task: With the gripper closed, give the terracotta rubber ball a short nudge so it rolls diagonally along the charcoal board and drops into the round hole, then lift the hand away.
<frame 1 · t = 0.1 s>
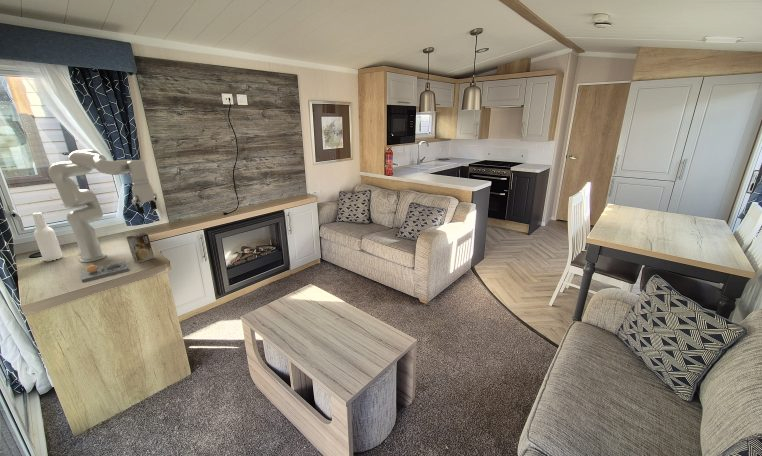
hand: (148, 211, 184), 31 cm above the table, fingers open, 9 cm apart
ball: (92, 268, 174), point 4 cm above the table, touching deck
alcohol: (53, 259, 198), on the table
deck: (105, 272, 179), on the table
coffee box: (144, 259, 195), on the table
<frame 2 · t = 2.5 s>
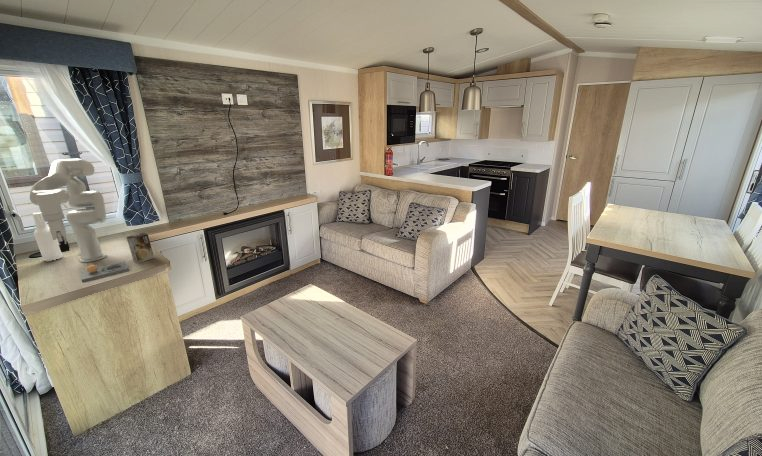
hand: (65, 249, 165), 17 cm above the table, fingers open, 4 cm apart
nothing on the table moved.
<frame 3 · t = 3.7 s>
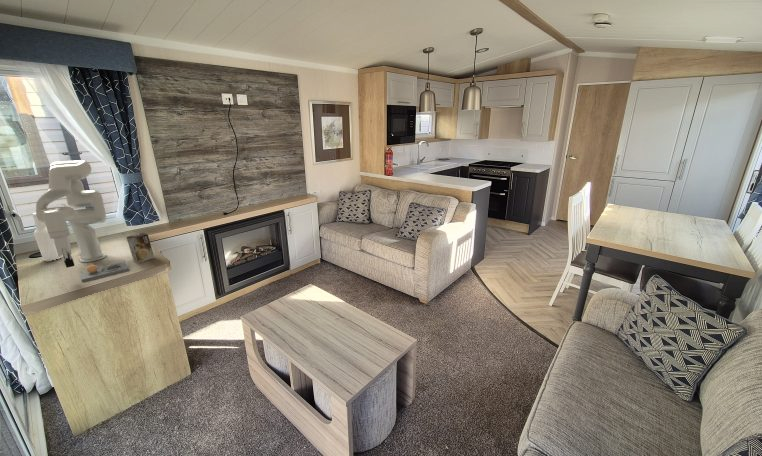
hand: (70, 266, 167), 8 cm above the table, fingers closed
nothing on the table moved.
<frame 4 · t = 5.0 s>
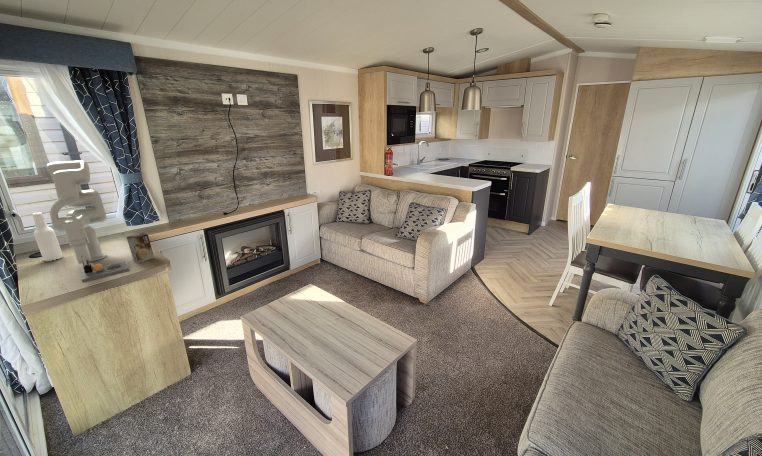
hand: (89, 272, 174), 2 cm above the table, fingers closed
ball: (97, 267, 176), point 4 cm above the table, tilted 55°, touching deck
everything else where it was.
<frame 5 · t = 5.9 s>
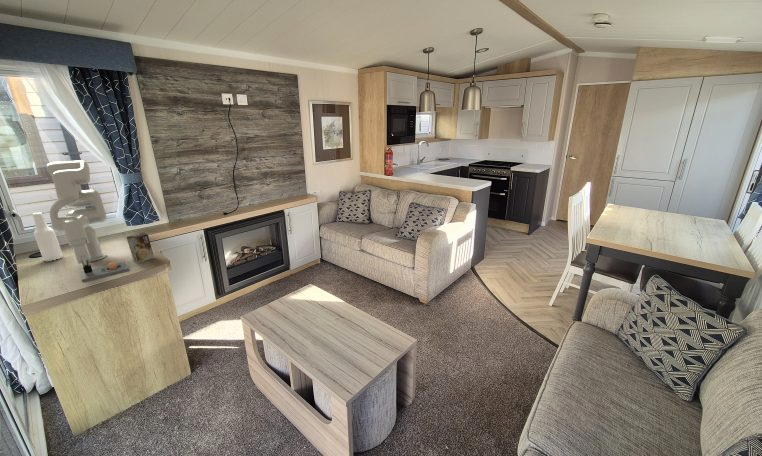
hand: (88, 272, 174), 2 cm above the table, fingers closed
ball: (112, 266, 181), point 2 cm above the table, tilted 117°
everything else where it was.
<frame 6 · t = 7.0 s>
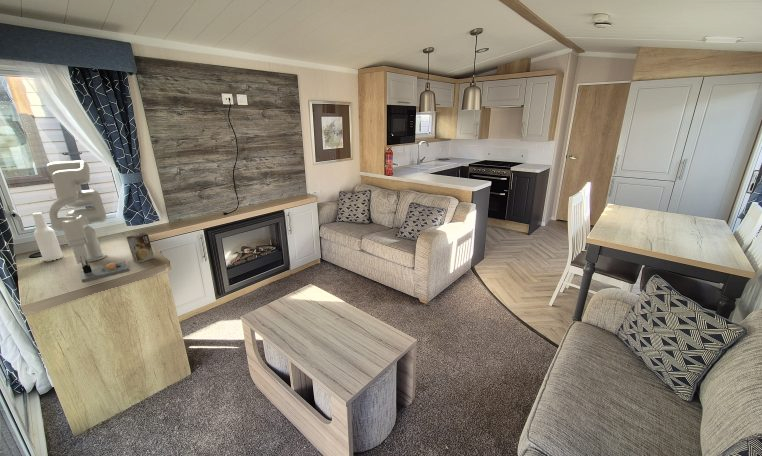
hand: (88, 272, 174), 2 cm above the table, fingers closed
ball: (111, 266, 180), point 2 cm above the table, tilted 140°
everything else where it was.
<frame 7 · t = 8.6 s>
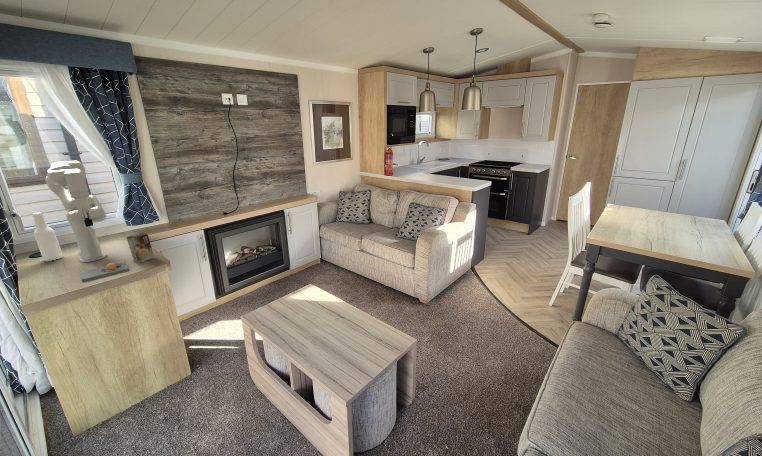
hand: (89, 225, 178), 26 cm above the table, fingers closed
nothing on the table moved.
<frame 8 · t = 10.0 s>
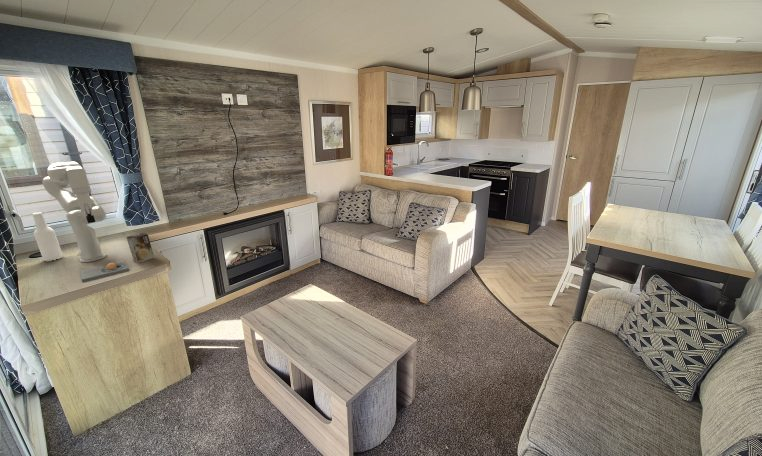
hand: (91, 222, 179), 27 cm above the table, fingers closed
nothing on the table moved.
at the end: ball 1.0 cm from the target spot on the deck, point 2.2 cm above the deck's base; ball point 2.2 cm above the table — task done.
